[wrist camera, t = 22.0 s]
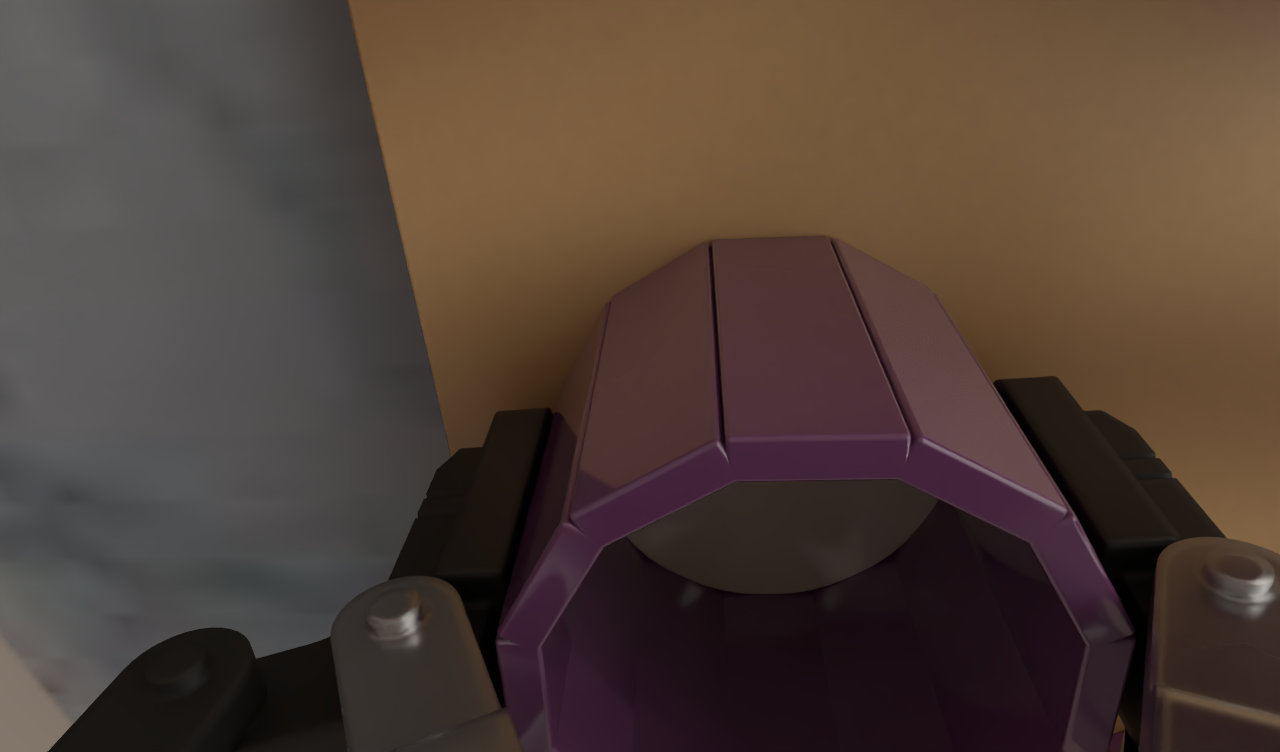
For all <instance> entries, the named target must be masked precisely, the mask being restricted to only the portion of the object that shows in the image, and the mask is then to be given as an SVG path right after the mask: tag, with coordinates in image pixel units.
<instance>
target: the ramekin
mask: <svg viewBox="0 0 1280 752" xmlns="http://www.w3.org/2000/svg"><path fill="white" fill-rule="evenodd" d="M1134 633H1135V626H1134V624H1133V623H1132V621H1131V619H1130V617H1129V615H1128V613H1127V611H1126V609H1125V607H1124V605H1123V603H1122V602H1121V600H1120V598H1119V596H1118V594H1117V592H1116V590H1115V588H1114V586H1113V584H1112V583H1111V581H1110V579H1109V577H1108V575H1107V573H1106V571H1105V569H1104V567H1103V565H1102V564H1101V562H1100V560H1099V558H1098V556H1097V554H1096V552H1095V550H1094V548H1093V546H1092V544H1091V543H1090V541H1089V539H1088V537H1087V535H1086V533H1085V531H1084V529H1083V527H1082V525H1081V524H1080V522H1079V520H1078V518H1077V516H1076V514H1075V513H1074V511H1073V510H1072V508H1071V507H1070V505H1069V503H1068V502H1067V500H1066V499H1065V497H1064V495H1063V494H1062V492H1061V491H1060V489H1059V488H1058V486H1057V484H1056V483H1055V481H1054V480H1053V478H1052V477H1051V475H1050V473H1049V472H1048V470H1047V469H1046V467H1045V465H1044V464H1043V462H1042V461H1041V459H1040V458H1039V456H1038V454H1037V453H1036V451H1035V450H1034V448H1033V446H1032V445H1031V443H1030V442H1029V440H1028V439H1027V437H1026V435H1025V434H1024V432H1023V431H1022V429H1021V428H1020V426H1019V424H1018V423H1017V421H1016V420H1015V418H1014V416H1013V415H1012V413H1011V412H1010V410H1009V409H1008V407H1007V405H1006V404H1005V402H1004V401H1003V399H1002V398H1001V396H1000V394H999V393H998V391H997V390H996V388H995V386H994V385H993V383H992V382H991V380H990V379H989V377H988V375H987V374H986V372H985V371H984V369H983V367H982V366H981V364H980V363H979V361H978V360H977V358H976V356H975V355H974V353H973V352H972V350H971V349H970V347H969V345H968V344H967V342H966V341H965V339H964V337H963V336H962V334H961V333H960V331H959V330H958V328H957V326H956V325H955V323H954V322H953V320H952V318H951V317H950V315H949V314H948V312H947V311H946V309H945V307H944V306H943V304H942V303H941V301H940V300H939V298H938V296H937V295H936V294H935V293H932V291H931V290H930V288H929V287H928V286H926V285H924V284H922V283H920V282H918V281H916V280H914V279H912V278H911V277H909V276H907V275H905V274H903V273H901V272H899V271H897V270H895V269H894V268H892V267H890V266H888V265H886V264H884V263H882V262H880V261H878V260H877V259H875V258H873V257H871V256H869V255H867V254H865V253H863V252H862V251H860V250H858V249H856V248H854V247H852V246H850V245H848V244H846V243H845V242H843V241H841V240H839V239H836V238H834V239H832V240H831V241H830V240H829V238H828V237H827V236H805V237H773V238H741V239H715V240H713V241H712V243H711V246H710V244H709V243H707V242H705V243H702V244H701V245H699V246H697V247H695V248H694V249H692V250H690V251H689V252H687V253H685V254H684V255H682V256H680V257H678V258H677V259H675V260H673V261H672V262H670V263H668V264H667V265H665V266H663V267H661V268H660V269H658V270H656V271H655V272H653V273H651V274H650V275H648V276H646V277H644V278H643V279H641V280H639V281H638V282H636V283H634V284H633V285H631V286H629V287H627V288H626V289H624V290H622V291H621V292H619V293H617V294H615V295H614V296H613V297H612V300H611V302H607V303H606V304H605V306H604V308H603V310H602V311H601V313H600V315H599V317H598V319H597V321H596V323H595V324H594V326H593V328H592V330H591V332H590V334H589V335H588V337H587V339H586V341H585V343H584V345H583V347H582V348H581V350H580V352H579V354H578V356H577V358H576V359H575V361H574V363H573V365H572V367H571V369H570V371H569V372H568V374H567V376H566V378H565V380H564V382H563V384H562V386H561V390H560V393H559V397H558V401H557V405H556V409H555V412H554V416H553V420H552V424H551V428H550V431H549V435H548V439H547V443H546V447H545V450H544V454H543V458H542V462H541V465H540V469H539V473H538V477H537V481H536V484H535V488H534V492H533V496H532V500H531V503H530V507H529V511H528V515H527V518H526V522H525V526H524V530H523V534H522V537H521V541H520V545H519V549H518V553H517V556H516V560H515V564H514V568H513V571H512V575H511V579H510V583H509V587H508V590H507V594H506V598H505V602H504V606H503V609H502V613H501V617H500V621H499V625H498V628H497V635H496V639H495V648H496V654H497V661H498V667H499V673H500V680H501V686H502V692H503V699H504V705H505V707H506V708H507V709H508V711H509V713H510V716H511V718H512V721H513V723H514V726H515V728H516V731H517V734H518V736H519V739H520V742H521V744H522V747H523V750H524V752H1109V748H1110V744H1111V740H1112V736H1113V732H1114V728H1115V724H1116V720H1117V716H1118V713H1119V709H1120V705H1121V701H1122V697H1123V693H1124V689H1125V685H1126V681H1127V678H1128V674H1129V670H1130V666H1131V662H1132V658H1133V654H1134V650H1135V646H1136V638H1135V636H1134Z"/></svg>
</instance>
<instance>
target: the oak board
mask: <svg viewBox="0 0 1280 752" xmlns="http://www.w3.org/2000/svg"><path fill="white" fill-rule="evenodd" d="M347 4H348V9H349V13H350V17H351V22H352V26H353V30H354V35H355V39H356V43H357V48H358V52H359V57H360V61H361V65H362V70H363V74H364V78H365V83H366V87H367V91H368V96H369V100H370V105H371V109H372V113H373V118H374V122H375V126H376V131H377V135H378V139H379V144H380V148H381V153H382V157H383V161H384V166H385V170H386V174H387V179H388V183H389V187H390V192H391V196H392V201H393V205H394V209H395V214H396V218H397V222H398V227H399V231H400V235H401V240H402V244H403V249H404V253H405V257H406V262H407V266H408V270H409V275H410V279H411V283H412V288H413V292H414V297H415V301H416V305H417V310H418V314H419V318H420V323H421V327H422V331H423V336H424V340H425V345H426V349H427V353H428V358H429V362H430V366H431V371H432V375H433V379H434V384H435V388H436V393H437V397H438V401H439V406H440V410H441V414H442V419H443V423H444V427H445V432H446V436H447V441H448V445H449V449H450V454H451V457H452V456H453V455H454V454H455V453H456V452H457V451H458V450H459V449H461V448H474V447H483V444H484V441H485V439H486V436H487V433H488V431H489V428H490V425H491V423H492V420H493V417H494V415H495V413H496V412H497V411H505V410H520V409H535V408H550V409H551V411H552V413H553V416H554V412H555V409H556V405H557V401H558V397H559V393H560V390H561V386H562V384H563V382H564V380H565V378H566V376H567V374H568V372H569V371H570V369H571V367H572V365H573V363H574V361H575V359H576V358H577V356H578V354H579V352H580V350H581V348H582V347H583V345H584V343H585V341H586V339H587V337H588V335H589V334H590V332H591V330H592V328H593V326H594V324H595V323H596V321H597V319H598V317H599V315H600V313H601V311H602V310H603V308H604V306H605V304H606V303H607V302H611V300H612V297H613V296H614V295H615V294H617V293H619V292H621V291H622V290H624V289H626V288H627V287H629V286H631V285H633V284H634V283H636V282H638V281H639V280H641V279H643V278H644V277H646V276H648V275H650V274H651V273H653V272H655V271H656V270H658V269H660V268H661V267H663V266H665V265H667V264H668V263H670V262H672V261H673V260H675V259H677V258H678V257H680V256H682V255H684V254H685V253H687V252H689V251H690V250H692V249H694V248H695V247H697V246H699V245H701V244H702V243H705V242H707V243H709V244H710V246H711V243H712V241H713V240H715V239H741V238H773V237H805V236H827V237H828V238H829V240H830V241H831V240H832V239H834V238H836V239H839V240H841V241H843V242H845V243H846V244H848V245H850V246H852V247H854V248H856V249H858V250H860V251H862V252H863V253H865V254H867V255H869V256H871V257H873V258H875V259H877V260H878V261H880V262H882V263H884V264H886V265H888V266H890V267H892V268H894V269H895V270H897V271H899V272H901V273H903V274H905V275H907V276H909V277H911V278H912V279H914V280H916V281H918V282H920V283H922V284H924V285H926V286H928V287H929V288H930V290H931V291H932V293H935V294H936V295H937V296H938V298H939V300H940V301H941V303H942V304H943V306H944V307H945V309H946V311H947V312H948V314H949V315H950V317H951V318H952V320H953V322H954V323H955V325H956V326H957V328H958V330H959V331H960V333H961V334H962V336H963V337H964V339H965V341H966V342H967V344H968V345H969V347H970V349H971V350H972V352H973V353H974V355H975V356H976V358H977V360H978V361H979V363H980V364H981V366H982V367H983V369H984V371H985V372H986V374H987V375H988V377H989V379H990V380H991V382H992V383H994V381H995V380H998V379H1013V378H1029V377H1045V376H1056V377H1057V378H1059V380H1060V381H1061V382H1062V383H1063V385H1064V386H1065V387H1066V388H1067V390H1068V391H1069V392H1070V394H1071V395H1072V396H1073V397H1074V399H1075V400H1076V401H1077V403H1078V404H1079V405H1080V407H1081V408H1082V409H1083V410H1084V411H1093V410H1102V411H1104V412H1106V413H1108V414H1109V415H1111V416H1113V417H1115V418H1116V419H1118V420H1120V421H1121V422H1123V423H1125V424H1127V425H1128V426H1130V427H1132V428H1134V429H1135V430H1136V431H1137V432H1138V433H1139V434H1140V435H1141V437H1142V438H1143V439H1144V440H1145V441H1146V443H1147V444H1148V445H1149V446H1150V447H1151V449H1152V450H1153V451H1154V452H1155V453H1156V454H1155V456H1156V458H1160V459H1161V460H1162V462H1163V463H1164V464H1165V465H1166V466H1167V468H1168V469H1169V470H1170V471H1171V472H1172V478H1177V479H1178V481H1179V482H1180V483H1181V484H1182V485H1183V487H1184V488H1185V489H1186V490H1187V491H1188V492H1189V494H1190V495H1191V496H1192V497H1193V498H1194V500H1195V501H1196V502H1197V503H1198V504H1199V506H1200V507H1201V508H1202V509H1203V510H1204V511H1205V513H1206V514H1207V515H1208V516H1209V517H1210V519H1211V520H1212V521H1213V522H1214V523H1215V525H1216V526H1217V527H1218V528H1219V529H1220V530H1221V532H1222V533H1223V534H1224V535H1225V536H1226V538H1228V539H1235V540H1239V541H1244V542H1248V543H1251V544H1254V545H1258V546H1261V547H1263V548H1266V549H1268V550H1271V551H1273V552H1275V553H1277V554H1279V555H1280V0H347ZM1124 730H1125V726H1124V724H1123V722H1122V720H1121V719H1120V717H1119V715H1118V716H1117V720H1116V724H1115V728H1114V732H1113V734H1115V733H1118V732H1121V731H1124Z"/></svg>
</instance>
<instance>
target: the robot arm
mask: <svg viewBox="0 0 1280 752" xmlns="http://www.w3.org/2000/svg"><path fill="white" fill-rule="evenodd" d="M993 385H994V386H995V388H996V390H997V391H998V393H999V394H1000V396H1001V398H1002V399H1003V401H1004V402H1005V404H1006V405H1007V407H1008V409H1009V410H1010V412H1011V413H1012V415H1013V416H1014V418H1015V420H1016V421H1017V423H1018V424H1019V426H1020V428H1021V429H1022V431H1023V432H1024V434H1025V435H1026V437H1027V439H1028V440H1029V442H1030V443H1031V445H1032V446H1033V448H1034V450H1035V451H1036V453H1037V454H1038V456H1039V458H1040V459H1041V461H1042V462H1043V464H1044V465H1045V467H1046V469H1047V470H1048V472H1049V473H1050V475H1051V477H1052V478H1053V480H1054V481H1055V483H1056V484H1057V486H1058V488H1059V489H1060V491H1061V492H1062V494H1063V495H1064V497H1065V499H1066V500H1067V502H1068V503H1069V505H1070V507H1071V508H1072V510H1073V511H1074V513H1075V514H1076V516H1077V518H1078V520H1079V522H1080V524H1081V525H1082V527H1083V529H1084V531H1085V533H1086V535H1087V537H1088V539H1089V541H1090V543H1091V544H1092V546H1093V548H1094V550H1095V552H1096V554H1097V556H1098V558H1099V560H1100V562H1101V564H1102V565H1103V567H1104V569H1105V571H1106V573H1107V575H1108V577H1109V579H1110V581H1111V583H1112V584H1113V586H1114V588H1115V590H1116V592H1117V594H1118V596H1119V598H1120V600H1121V602H1122V603H1123V605H1124V607H1125V609H1126V611H1127V613H1128V615H1129V617H1130V619H1131V621H1132V623H1133V624H1134V626H1135V633H1134V636H1135V638H1136V646H1135V650H1134V654H1133V658H1132V662H1131V666H1130V670H1129V674H1128V678H1127V681H1126V685H1125V689H1124V693H1123V697H1122V701H1121V705H1120V709H1119V713H1118V715H1119V717H1120V719H1121V720H1122V722H1123V724H1124V726H1125V730H1124V735H1123V741H1122V746H1121V751H1120V752H1280V555H1279V554H1277V553H1275V552H1273V551H1271V550H1268V549H1266V548H1263V547H1261V546H1258V545H1254V544H1251V543H1248V542H1244V541H1239V540H1235V539H1228V538H1226V536H1225V535H1224V534H1223V533H1222V532H1221V530H1220V529H1219V528H1218V527H1217V526H1216V525H1215V523H1214V522H1213V521H1212V520H1211V519H1210V517H1209V516H1208V515H1207V514H1206V513H1205V511H1204V510H1203V509H1202V508H1201V507H1200V506H1199V504H1198V503H1197V502H1196V501H1195V500H1194V498H1193V497H1192V496H1191V495H1190V494H1189V492H1188V491H1187V490H1186V489H1185V488H1184V487H1183V485H1182V484H1181V483H1180V482H1179V481H1178V479H1177V478H1172V472H1171V471H1170V470H1169V469H1168V468H1167V466H1166V465H1165V464H1164V463H1163V462H1162V460H1161V459H1160V458H1156V456H1155V454H1156V453H1155V452H1154V451H1153V450H1152V449H1151V447H1150V446H1149V445H1148V444H1147V443H1146V441H1145V440H1144V439H1143V438H1142V437H1141V435H1140V434H1139V433H1138V432H1137V431H1136V430H1135V429H1134V428H1132V427H1130V426H1128V425H1127V424H1125V423H1123V422H1121V421H1120V420H1118V419H1116V418H1115V417H1113V416H1111V415H1109V414H1108V413H1106V412H1104V411H1102V410H1093V411H1084V410H1083V409H1082V408H1081V407H1080V405H1079V404H1078V403H1077V401H1076V400H1075V399H1074V397H1073V396H1072V395H1071V394H1070V392H1069V391H1068V390H1067V388H1066V387H1065V386H1064V385H1063V383H1062V382H1061V381H1060V380H1059V378H1057V377H1056V376H1045V377H1029V378H1013V379H998V380H995V381H994V383H993ZM552 420H553V413H552V411H551V409H550V408H535V409H520V410H505V411H497V412H496V413H495V415H494V417H493V420H492V423H491V425H490V428H489V431H488V433H487V436H486V439H485V441H484V444H483V447H474V448H461V449H459V450H458V451H457V452H456V453H455V454H454V455H453V456H452V457H451V458H449V459H448V460H447V461H446V462H445V463H444V464H443V465H442V466H441V467H439V468H438V469H437V471H436V473H435V475H434V477H433V480H432V482H431V484H430V487H429V489H428V491H427V493H426V495H427V498H424V500H423V502H422V505H421V507H420V509H419V511H418V518H415V521H414V523H413V525H412V527H411V530H410V532H409V534H408V536H407V539H406V541H405V543H404V546H403V548H402V550H401V552H400V555H399V557H398V559H397V561H396V564H395V566H394V568H393V571H392V573H391V575H390V577H389V580H388V581H386V582H383V583H380V584H377V585H375V586H373V587H371V588H369V589H367V590H365V591H364V592H362V593H361V594H359V595H357V596H356V597H355V598H354V599H352V600H351V601H350V602H349V603H348V604H347V605H346V606H345V607H344V608H343V609H342V610H341V611H340V613H339V614H338V615H337V617H336V619H335V621H334V623H333V625H332V629H331V636H330V637H328V638H326V639H323V640H321V641H318V642H315V643H311V644H308V645H305V646H301V647H297V648H294V649H290V650H287V651H283V652H279V653H276V654H272V655H268V656H265V657H261V658H258V659H256V658H255V655H254V652H253V650H252V647H251V645H250V642H249V641H248V639H247V638H246V637H245V636H244V635H242V634H241V633H239V632H237V631H234V630H232V629H226V628H204V629H198V630H193V631H189V632H185V633H182V634H179V635H176V636H174V637H172V638H169V639H167V640H165V641H163V642H161V643H159V644H157V645H155V646H153V647H152V648H150V649H149V650H147V651H145V652H144V653H142V654H141V655H140V656H138V657H137V658H136V659H135V660H133V661H132V662H131V663H130V664H129V665H128V666H127V667H126V668H125V669H124V670H123V671H122V672H121V673H120V674H119V675H118V676H117V677H116V678H115V679H114V680H113V682H112V683H111V684H110V685H109V686H108V687H107V688H106V689H105V690H104V691H103V692H102V693H101V695H100V696H99V697H98V698H97V699H96V700H95V701H94V702H93V703H92V704H91V705H90V706H89V708H88V709H87V710H86V711H85V712H84V713H83V714H82V715H81V716H80V717H79V718H78V719H77V721H76V722H75V723H74V724H73V725H72V726H71V727H70V728H69V729H68V730H67V731H66V733H65V734H64V735H63V736H62V737H61V738H60V739H59V740H58V741H57V742H56V743H55V744H54V746H53V747H52V748H51V749H50V750H49V751H48V752H524V750H523V747H522V744H521V742H520V739H519V736H518V734H517V731H516V728H515V726H514V723H513V721H512V718H511V716H510V713H509V711H508V709H507V708H506V707H505V705H504V699H503V692H502V686H501V680H500V673H499V667H498V661H497V654H496V648H495V639H496V635H497V628H498V625H499V621H500V617H501V613H502V609H503V606H504V602H505V598H506V594H507V590H508V587H509V583H510V579H511V575H512V571H513V568H514V564H515V560H516V556H517V553H518V549H519V545H520V541H521V537H522V534H523V530H524V526H525V522H526V518H527V515H528V511H529V507H530V503H531V500H532V496H533V492H534V488H535V484H536V481H537V477H538V473H539V469H540V465H541V462H542V458H543V454H544V450H545V447H546V443H547V439H548V435H549V431H550V428H551V424H552Z"/></svg>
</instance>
